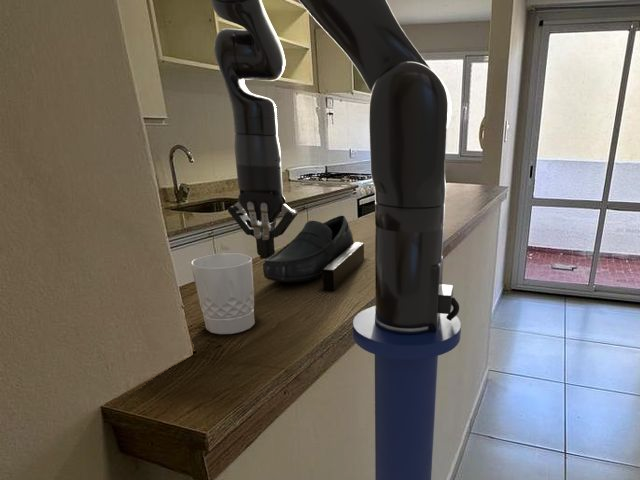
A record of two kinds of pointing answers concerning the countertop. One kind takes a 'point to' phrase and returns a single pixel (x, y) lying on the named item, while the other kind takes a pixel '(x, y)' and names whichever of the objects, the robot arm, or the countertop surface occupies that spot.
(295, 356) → the countertop surface
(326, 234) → the loafer
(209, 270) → the white cup
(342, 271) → the shoe rail
